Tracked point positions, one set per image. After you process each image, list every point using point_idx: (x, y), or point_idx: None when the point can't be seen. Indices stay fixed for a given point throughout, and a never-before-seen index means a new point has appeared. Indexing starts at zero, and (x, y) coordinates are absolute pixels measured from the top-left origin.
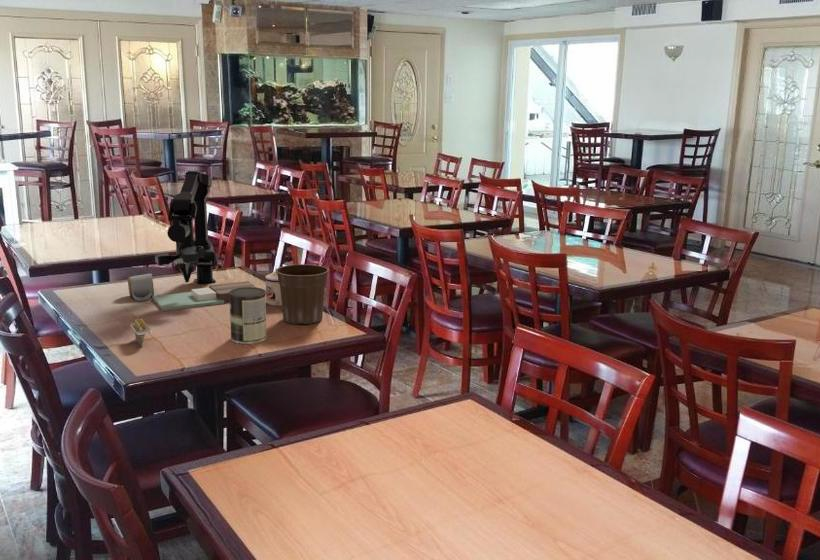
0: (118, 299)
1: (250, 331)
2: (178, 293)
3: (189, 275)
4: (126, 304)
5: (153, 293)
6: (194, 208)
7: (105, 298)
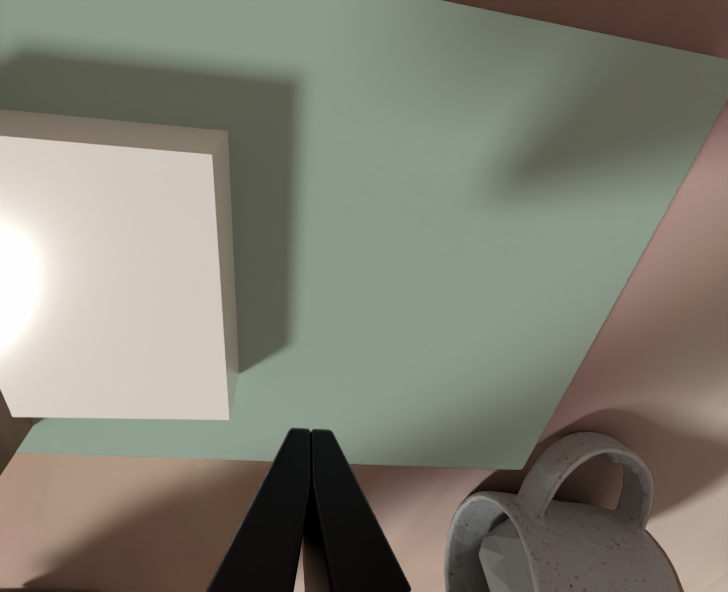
0: (665, 507)
1: None
2: None
3: (264, 534)
4: (725, 409)
5: (502, 497)
6: None
7: (692, 539)
